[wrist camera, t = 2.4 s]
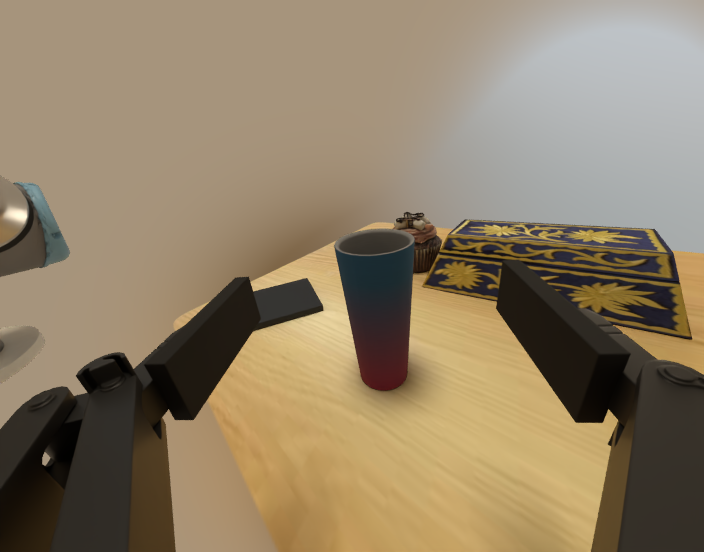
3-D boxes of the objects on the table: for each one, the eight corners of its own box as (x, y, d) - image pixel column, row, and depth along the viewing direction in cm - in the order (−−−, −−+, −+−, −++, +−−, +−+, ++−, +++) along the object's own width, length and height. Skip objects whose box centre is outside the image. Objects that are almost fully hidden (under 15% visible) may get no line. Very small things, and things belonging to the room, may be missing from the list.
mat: (249, 331, 40) (248, 326, 39) (247, 298, 49) (246, 293, 49) (323, 310, 43) (322, 304, 42) (308, 282, 52) (307, 277, 52)
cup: (371, 344, 34) (360, 226, 28) (425, 361, 31) (426, 231, 24) (340, 382, 29) (317, 250, 23) (399, 408, 26) (393, 260, 19)
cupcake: (440, 275, 49) (442, 220, 45) (386, 273, 52) (383, 221, 48) (441, 255, 57) (443, 206, 53) (395, 254, 60) (393, 208, 56)
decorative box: (691, 339, 29) (732, 261, 26) (422, 286, 46) (422, 234, 42) (666, 293, 37) (695, 228, 33) (443, 262, 54) (445, 216, 50)
